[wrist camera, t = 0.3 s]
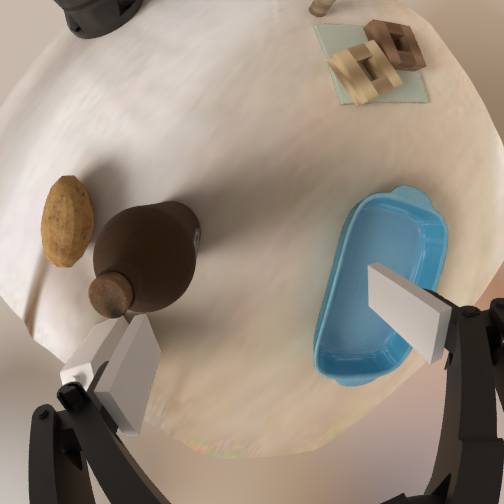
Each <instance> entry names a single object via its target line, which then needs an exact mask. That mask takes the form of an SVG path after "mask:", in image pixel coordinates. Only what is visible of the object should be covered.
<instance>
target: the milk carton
mask: <svg viewBox="0 0 504 504" xmlns="http://www.w3.org/2000/svg"><path fill="white" fill-rule="evenodd" d="M128 326H129V324H128V322H127V320H126V319H125V317H124V316H121V317H119V318H116V319H108V320H105V321H103V322H101V323H98V324H96V325H95V326H94V327H93V328H92V329H91V331H90V332H89V333H88V335H87V336H86V337H85V339H84V340H83V341H82V343H81V344H80V345H79V347H78V348H77V349H76V351H75V352H74V354H73V355H72V356H71V358H70V359H69V360H68V362H67V363H66V365H65V366H64V368H63V369H62V371H61V372H60V375H61V380H62V385H65V384H66V383H69V382H74V381H76V382H80V383H81V385H82V386H83V388H84V389H85V391H87V389H88V387H89V385H90V383H91V381H92V380H93V378H94V376H95V375H96V372H97V370H98V368H99V367H100V366H101V365H102V364H103V363H104V362H105V361H110V359H111V357H112V355H113V353H114V351H115V350H116V348H117V346H118V344H119V342H120V340H121V339H122V337H123V335H124V333H125V331H126V330H127V328H128Z"/></svg>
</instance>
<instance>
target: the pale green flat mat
mask: <svg viewBox="0 0 504 504" xmlns="http://www.w3.org/2000/svg"><path fill="white" fill-rule="evenodd" d="M363 28H364V27H363V26H352V25H337V24H315V26H314V29H315V31H316V34H317V36H318V39H319V42H320V44H321V47H322V50H323V52H324V55H325V58H326V61H328V60H329V59H330V58H331V57H332V56H333V55H334V54H335V53H337V52H339V51H342V50H345V49H348V48H350V47H353V46H356V45H359V44H362V43H365V42H368V39H367V37H366V34H365V32H364V30H363ZM394 45H395V43H394ZM395 47H396V46H395ZM396 50H397V48H396ZM359 66H360V67H361V68H362V70H363V71H364V73H365V74H366V76H367V77H368V79H369V80H370V82H371V81H374V80H373V79H372V77H371V76H370V74H369V73H368V71H367V70H366V68H365V67H364V65H363V64H362V63H361V64H359ZM328 67H329V65H328ZM329 69H330V72H331V76H332V79H333V82H334V85H335V88H336V91H337V95H338V98H339V102H340V105H347V104H355V103H354V102H353V100H352V99H351V97H350V95H349V94H348V92H347V91H346V89H345V88H344V86H343V85H342V83H341V82H340V81H339V79H338V78H337V76H336V75H335V74H334V72H333V71H332V69H331V68H330V67H329ZM395 71H396V73H397V74H398V76H399V77H400V79H401V81H402V82H403V85H401V86H398V87H396V88H394V89H392V90H390V91H388V92H386V93H384V94H382V95H380V96H378V97H376V98H374V99H372V100H370V101H368V102H366V103H429V101H428V98H427V94H426V91H425V88H424V84H423V81H422V78H421V75H420V72H419V70H417V71H415V72H413V71H404V70H395ZM364 104H365V103H364Z"/></svg>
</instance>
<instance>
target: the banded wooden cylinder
mask: <svg viewBox="0 0 504 504" xmlns="http://www.w3.org/2000/svg"><path fill="white" fill-rule="evenodd" d="M334 1H335V0H314V1H313V3H312V4H311V6H310V8H309V11H310V13H311V14H312V15H314V16H316V17H323V16H324V15H325V14H326V12H327V11H328V9H329V8H330V7H331V5H332V4H333V3H334Z"/></svg>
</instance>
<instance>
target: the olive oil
mask: <svg viewBox="0 0 504 504" xmlns="http://www.w3.org/2000/svg"><path fill="white" fill-rule="evenodd" d="M200 234H201V231H200V225H199V221H198V219H197V217H196V216H195V214H194V213H193V212H192V211H191V210H190V209H189V208H188V207H187V206H185V205H183V204H181V203H178V202H162V203H158V204H151V205H144V206H136V207H132V208H128V209H126V210H123V211H121V212H120V213H118V214H116V215H115V216H114V217H113V218H111V219H110V220H109V221H108V222H107V224H106V225H105V226H104V228H103V229H102V231H101V232H100V234H99V236H98V238H97V241H96V244H95V248H94V254H93V265H94V271H95V275H96V279H95V280H94V281H93V282H92V283H91V285H90V288H89V299H90V302H91V304H92V306H93V308H94V309H95V310H96V311H97V312H98V313H99V314H100V315H102V316H104V317H106V318H110V319H116V318H119V317H121V316H123V315H124V314H125V313H126V311H127V310H131V311H135V312H153V311H157V310H161V309H163V308H165V307H167V306H169V305H171V304H172V303H174V302H175V301H176V300H177V299H179V298H180V297H181V296H182V295H183V293H184V292H185V291H186V290H187V288H188V286H189V284H190V282H191V280H192V278H193V275H194V272H195V266H196V258H197V251H198V245H199V241H200Z"/></svg>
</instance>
